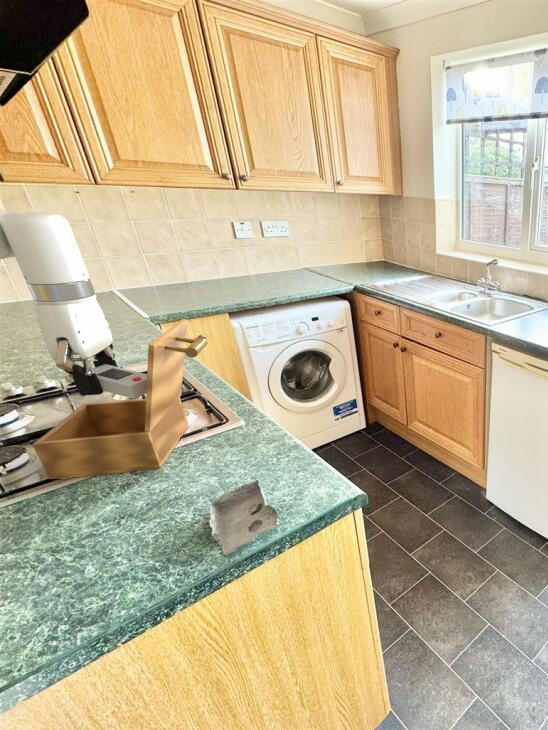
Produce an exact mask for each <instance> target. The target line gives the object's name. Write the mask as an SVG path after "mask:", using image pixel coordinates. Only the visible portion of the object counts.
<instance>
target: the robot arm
mask: <svg viewBox="0 0 548 730" xmlns="http://www.w3.org/2000/svg"><path fill="white" fill-rule="evenodd" d="M8 258H15V259H16V261H17V264H18V267H19V269H20V271H21V273H22V276H23V278H24V281H25V283H26V285H27V287H28V289H29V293H30V294H31V296H32V299H33V302H34V303H35V307H34V308H35V315H36V318H37V323H38V326H39V328H40V333H41V335H42V338H43V341H44V343H45V344H44V345H45V347H46V348H47V351H48V354H49V356H50V358H51V359H52V360H53V361H55V366H56V367H57V368H59V369H60V370H63V371H64V372H65V373H67V374H68V376H69V377H70V378H72V380H73V382H74V385H75V387H76V389H77V391H78V393H79V395H80V396H81V397H84V396H97V395H98V396H99V395H102V394H103V393H104V391H103V389H102V387H101V384H100V382H99V380H98V377H97V375H96V373H92V369H93V368H92V363H93V366H94V368H96V367H99V366H102V365H105V364H107V365H111V366H115V367H119V366H118V363H117V361H116V354H115V352H114V344H113V342H114V335H113V333H112V331H111V328H110V325H109V322H108V321H107V318H106V316H105V314H104V312H103V310H102V308H101V306H100V304H99V302H98V300H97V293H96V292H95V289H94V286H93V284H92V280H91V278H90V275H89V272H88V269H87V267H86V265H85V261H84V259H83V257H82V255H81V251H80V249H79V246H78V243H77V240H76V238H75V234H74V233H73V230H72V227H71V225H70V223H69V220H67V218H66V217H64V216H62V215H61V214H58V213H52V212H39V211H37V212H36V211H35V212H34V211H33V212H32V211H31V212H30V211H27V212H25V211H24V212H15V211H8V210H2V209H0V260H4V259H5V260H6V259H8ZM78 355H79V357H74V356H78ZM91 358H93V359H94V360H93V361H92V362H91ZM76 362H77V363H76ZM78 362H82V366H81V365H80V364H79V363H78Z"/></svg>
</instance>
